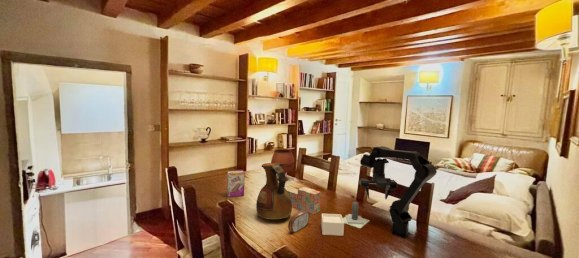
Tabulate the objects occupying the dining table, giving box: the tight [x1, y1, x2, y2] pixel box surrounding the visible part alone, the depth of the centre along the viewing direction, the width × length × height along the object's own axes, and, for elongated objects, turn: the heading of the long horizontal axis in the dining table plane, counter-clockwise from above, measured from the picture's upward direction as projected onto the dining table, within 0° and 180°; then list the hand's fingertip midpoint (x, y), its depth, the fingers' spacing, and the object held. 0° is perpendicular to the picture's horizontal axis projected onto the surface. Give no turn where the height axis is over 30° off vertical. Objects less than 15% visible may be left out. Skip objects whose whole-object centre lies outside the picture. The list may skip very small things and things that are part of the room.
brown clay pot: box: [270, 148, 296, 182], centre depth 210 cm, size 19×19×25 cm
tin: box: [287, 210, 310, 233], centre depth 128 cm, size 15×3×8 cm, turn 141°
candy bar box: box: [226, 170, 246, 198], centre depth 172 cm, size 11×5×16 cm, turn 108°
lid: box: [345, 201, 364, 225], centre depth 138 cm, size 8×8×10 cm
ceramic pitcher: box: [255, 162, 293, 220], centre depth 141 cm, size 20×20×30 cm
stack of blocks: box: [286, 186, 321, 215], centre depth 154 cm, size 21×6×12 cm, turn 50°
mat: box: [342, 213, 370, 229], centre depth 139 cm, size 12×12×1 cm
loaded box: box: [320, 213, 345, 237], centre depth 128 cm, size 10×10×6 cm
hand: (377, 198), depth 137 cm, fingers open, 9 cm apart
